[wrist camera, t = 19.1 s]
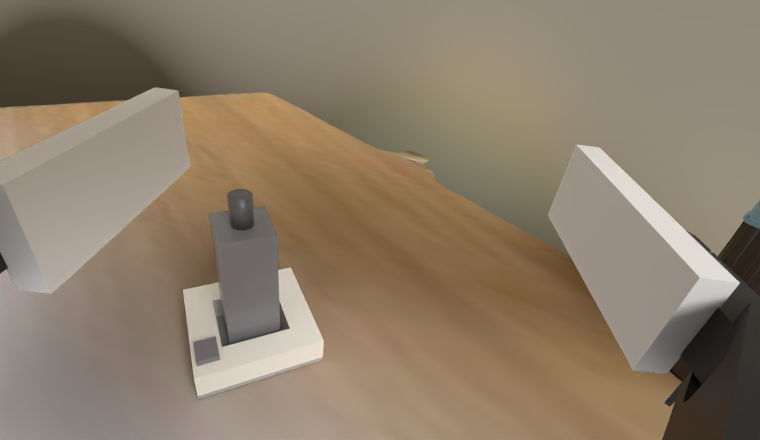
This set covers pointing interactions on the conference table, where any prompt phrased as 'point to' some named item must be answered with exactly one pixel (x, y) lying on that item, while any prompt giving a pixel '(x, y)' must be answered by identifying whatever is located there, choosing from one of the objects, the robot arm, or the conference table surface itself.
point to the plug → (246, 268)
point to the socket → (251, 357)
